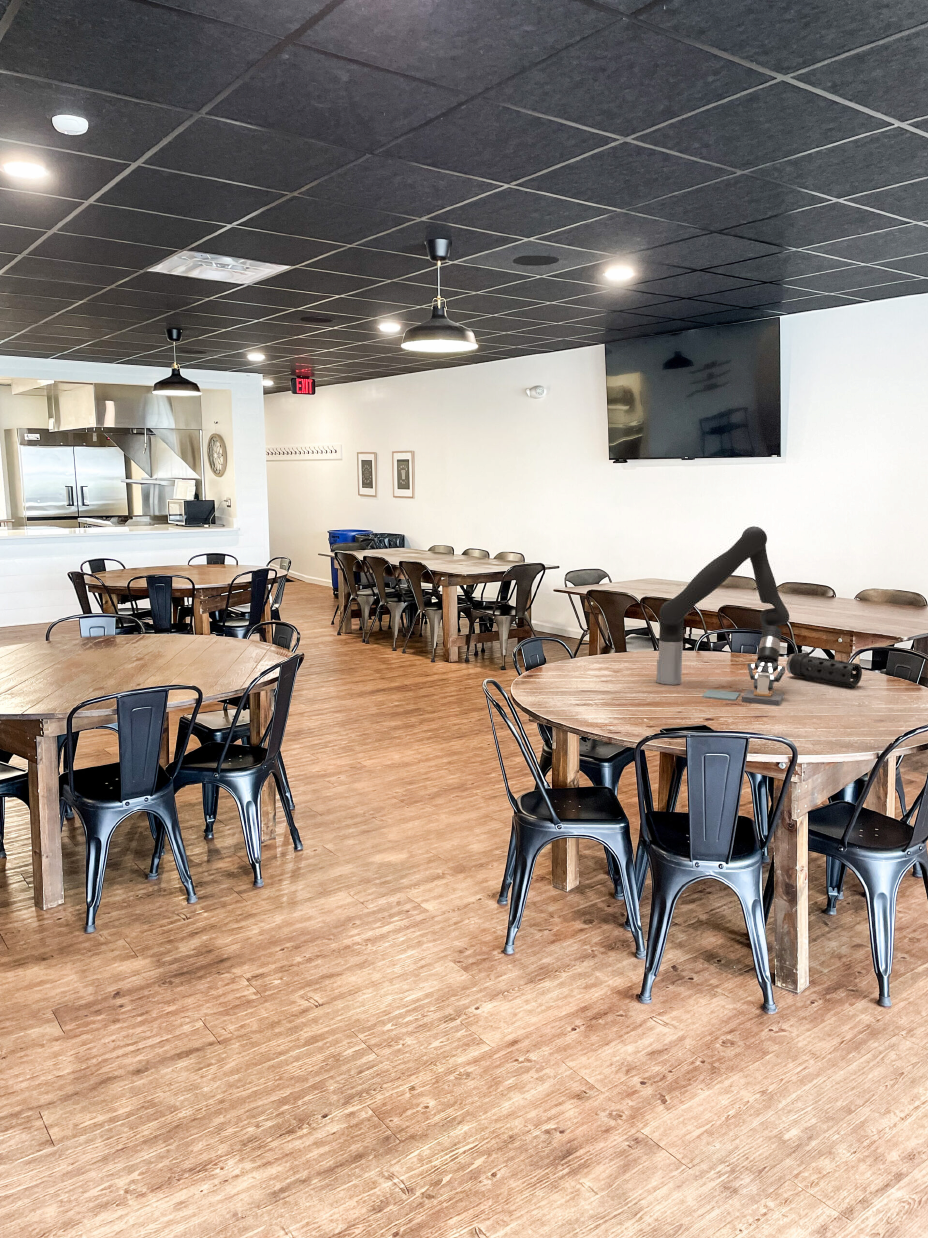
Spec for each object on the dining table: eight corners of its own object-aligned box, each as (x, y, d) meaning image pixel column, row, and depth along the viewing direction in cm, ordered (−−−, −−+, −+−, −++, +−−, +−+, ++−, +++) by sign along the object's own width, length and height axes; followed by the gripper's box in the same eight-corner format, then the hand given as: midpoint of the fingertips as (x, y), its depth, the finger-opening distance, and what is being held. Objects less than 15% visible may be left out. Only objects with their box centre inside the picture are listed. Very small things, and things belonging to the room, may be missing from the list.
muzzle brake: (848, 690, 337) (850, 664, 335) (784, 678, 359) (785, 653, 357) (861, 687, 342) (863, 661, 341) (797, 675, 365) (798, 651, 363)
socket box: (741, 702, 318) (742, 696, 318) (747, 694, 330) (747, 689, 329) (779, 705, 312) (779, 700, 312) (783, 698, 324) (783, 692, 324)
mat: (701, 697, 325) (702, 696, 325) (708, 691, 336) (708, 689, 336) (735, 700, 320) (735, 699, 320) (740, 694, 330) (740, 692, 330)
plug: (753, 701, 320) (754, 674, 318) (755, 697, 325) (756, 671, 324) (770, 702, 317) (771, 675, 316) (772, 699, 322) (773, 672, 321)
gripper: (748, 644, 328) (741, 681, 319) (788, 647, 322) (782, 685, 313) (750, 655, 333) (743, 692, 324) (789, 658, 327) (783, 696, 318)
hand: (762, 689), depth 319 cm, fingers closed on plug, 4 cm apart
